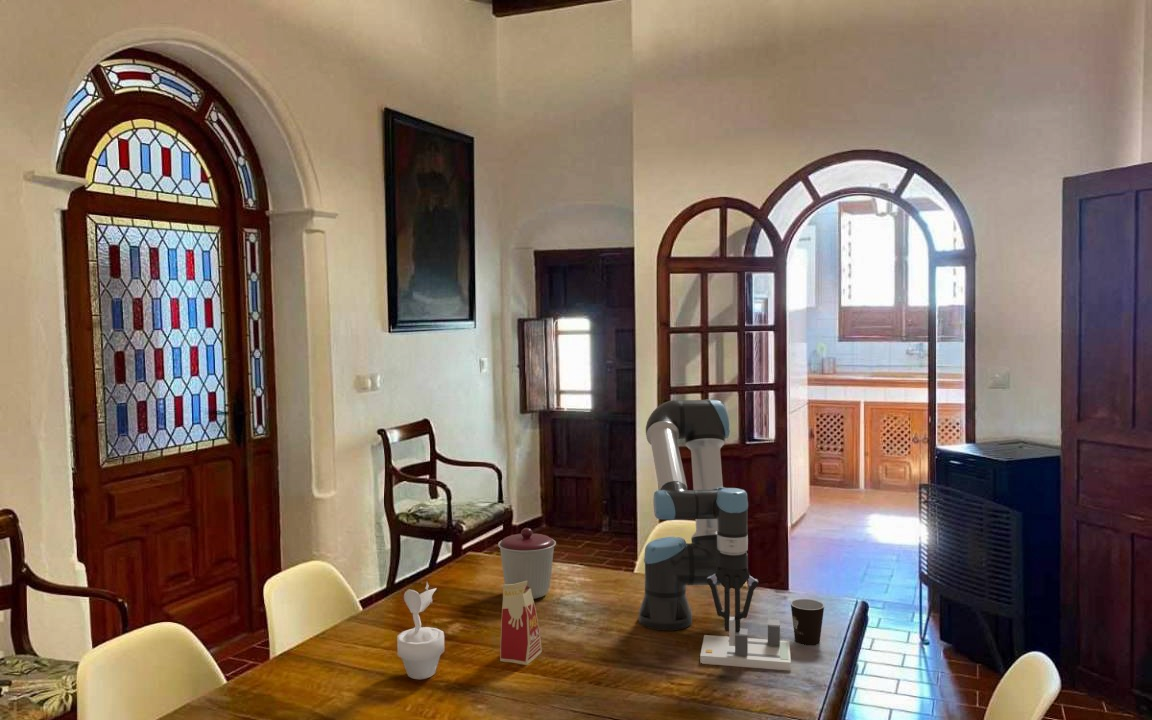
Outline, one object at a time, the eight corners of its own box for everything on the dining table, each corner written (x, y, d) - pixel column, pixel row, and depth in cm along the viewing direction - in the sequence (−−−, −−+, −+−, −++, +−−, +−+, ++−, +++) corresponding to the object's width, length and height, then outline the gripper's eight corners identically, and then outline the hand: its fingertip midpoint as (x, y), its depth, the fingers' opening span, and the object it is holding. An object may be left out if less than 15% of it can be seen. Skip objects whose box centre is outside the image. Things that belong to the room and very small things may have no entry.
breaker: (767, 645, 219) (767, 624, 219) (767, 639, 223) (767, 619, 223) (779, 646, 219) (779, 625, 218) (779, 640, 223) (779, 619, 222)
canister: (555, 604, 259) (554, 535, 258) (495, 604, 259) (494, 536, 258) (557, 585, 277) (556, 521, 276) (501, 585, 278) (500, 521, 276)
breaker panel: (700, 663, 214) (700, 654, 214) (704, 642, 228) (704, 634, 228) (790, 670, 210) (790, 661, 209) (789, 648, 223) (789, 640, 223)
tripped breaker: (735, 655, 213) (735, 633, 213) (735, 648, 217) (735, 628, 217) (747, 656, 213) (747, 634, 212) (747, 649, 217) (747, 628, 216)
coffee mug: (825, 648, 223) (825, 610, 223) (791, 646, 225) (791, 608, 224) (821, 632, 234) (821, 596, 234) (789, 630, 236) (789, 594, 236)
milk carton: (541, 651, 223) (540, 576, 222) (528, 665, 214) (527, 587, 213) (509, 647, 226) (508, 573, 225) (495, 661, 217) (493, 583, 216)
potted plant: (423, 689, 201) (421, 584, 200) (387, 678, 208) (384, 576, 206) (458, 669, 212) (456, 570, 211) (422, 660, 218) (420, 563, 217)
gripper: (704, 553, 212) (705, 647, 213) (758, 556, 209) (758, 651, 210) (707, 545, 219) (707, 636, 220) (759, 548, 216) (759, 640, 217)
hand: (732, 643), depth 215 cm, fingers closed
